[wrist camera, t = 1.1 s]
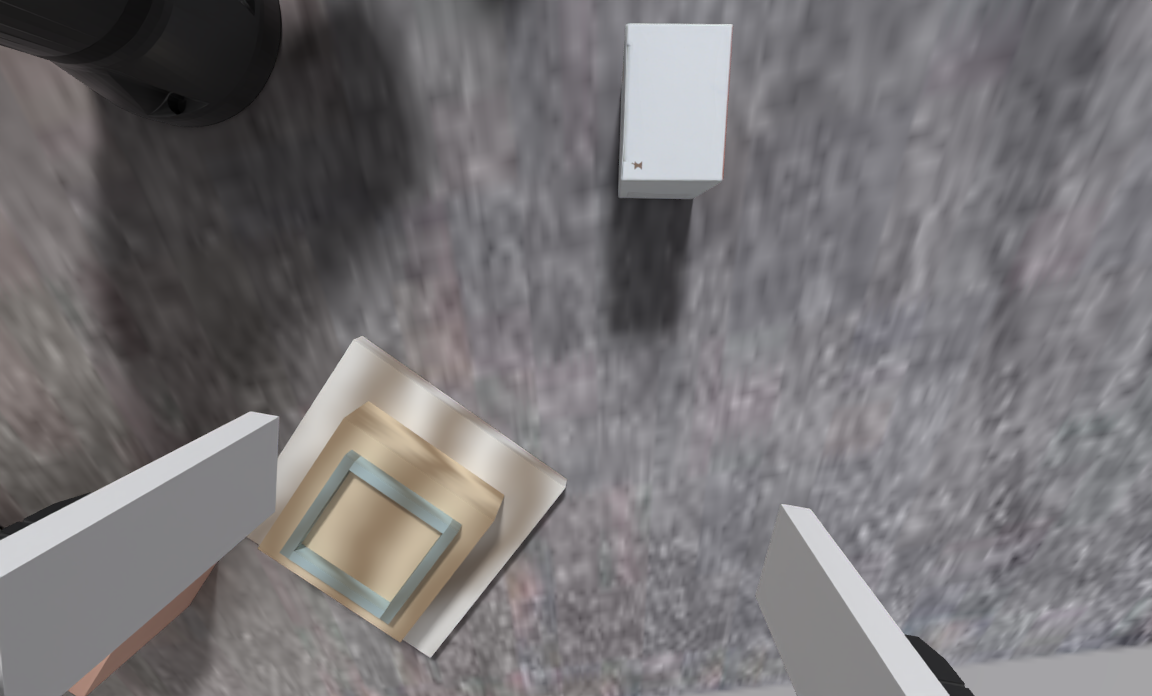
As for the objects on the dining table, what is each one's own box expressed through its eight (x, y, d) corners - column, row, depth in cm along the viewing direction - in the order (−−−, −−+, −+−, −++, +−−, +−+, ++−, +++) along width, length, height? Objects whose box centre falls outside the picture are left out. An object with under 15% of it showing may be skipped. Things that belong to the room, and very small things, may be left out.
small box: (693, 200, 39) (724, 185, 28) (616, 198, 39) (619, 184, 29) (701, 81, 37) (737, 20, 27) (620, 80, 37) (625, 20, 27)
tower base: (244, 518, 46) (186, 563, 40) (362, 336, 42) (319, 353, 36) (436, 645, 48) (409, 707, 41) (566, 479, 44) (559, 520, 37)
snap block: (131, 569, 48) (-4, 663, 37) (160, 521, 47) (29, 603, 36) (188, 606, 48) (71, 709, 38) (218, 559, 47) (106, 651, 37)
